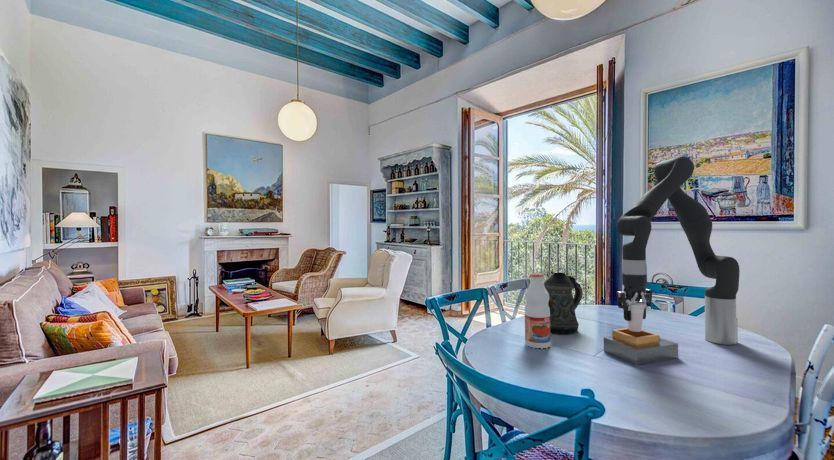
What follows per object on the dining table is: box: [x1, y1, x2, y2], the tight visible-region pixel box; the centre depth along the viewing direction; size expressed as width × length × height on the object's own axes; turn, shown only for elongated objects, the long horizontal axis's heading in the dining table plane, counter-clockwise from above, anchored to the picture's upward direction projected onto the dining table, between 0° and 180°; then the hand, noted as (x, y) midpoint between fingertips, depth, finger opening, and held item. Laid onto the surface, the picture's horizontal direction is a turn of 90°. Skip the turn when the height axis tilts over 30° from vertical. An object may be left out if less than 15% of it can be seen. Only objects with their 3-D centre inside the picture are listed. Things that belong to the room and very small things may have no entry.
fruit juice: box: [524, 272, 552, 350], centre depth 136 cm, size 9×9×28 cm
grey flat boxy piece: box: [603, 327, 679, 366], centre depth 125 cm, size 21×14×8 cm, turn 106°
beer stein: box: [543, 272, 583, 336], centre depth 157 cm, size 16×19×25 cm
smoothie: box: [626, 301, 645, 332], centre depth 124 cm, size 6×6×14 cm
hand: (634, 319), depth 124 cm, fingers closed on smoothie, 6 cm apart
